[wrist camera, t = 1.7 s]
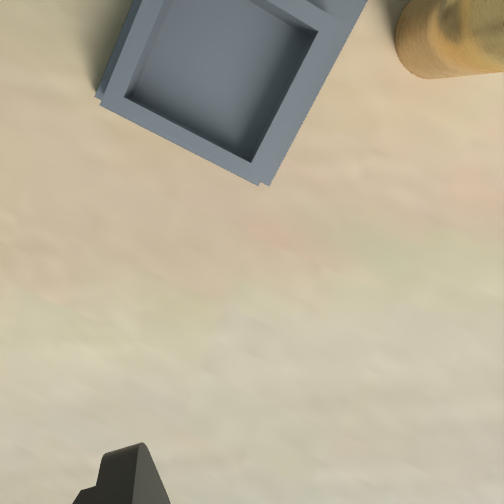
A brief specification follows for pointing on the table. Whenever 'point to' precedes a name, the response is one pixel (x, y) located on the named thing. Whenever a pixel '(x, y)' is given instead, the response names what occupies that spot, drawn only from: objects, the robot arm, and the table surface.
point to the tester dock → (226, 74)
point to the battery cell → (451, 37)
